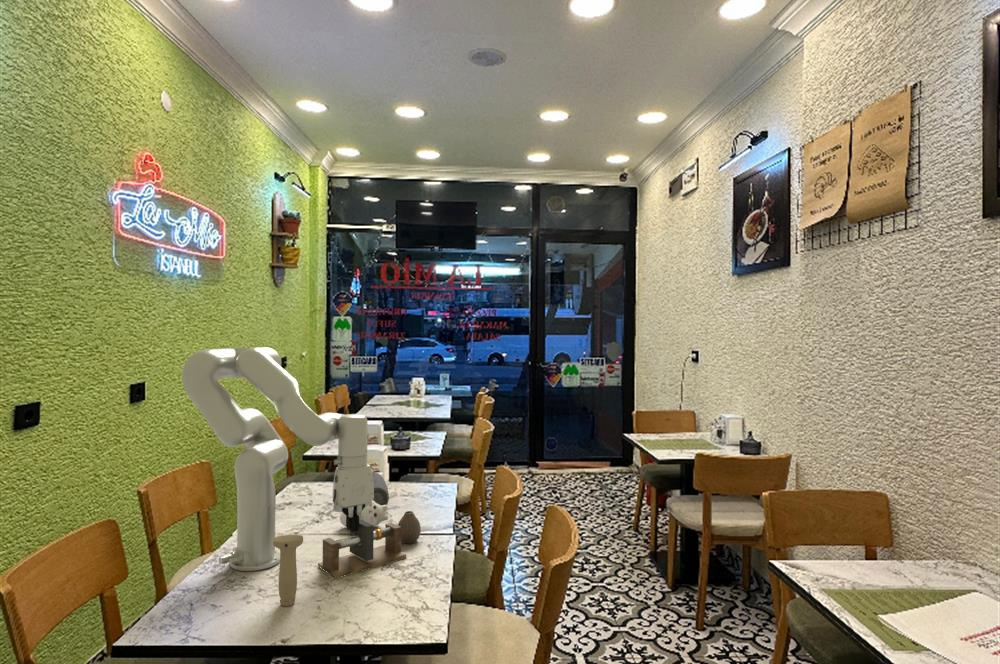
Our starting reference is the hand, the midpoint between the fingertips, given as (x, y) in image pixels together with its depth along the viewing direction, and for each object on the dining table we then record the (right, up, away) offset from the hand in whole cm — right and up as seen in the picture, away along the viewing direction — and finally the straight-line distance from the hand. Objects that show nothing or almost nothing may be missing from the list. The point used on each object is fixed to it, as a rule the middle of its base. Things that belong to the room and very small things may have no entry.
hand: (352, 530), depth 161 cm
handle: (-9, -10, -23) cm, 26 cm away
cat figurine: (-4, -10, +31) cm, 33 cm away
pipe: (+2, -4, +2) cm, 5 cm away
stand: (+2, -9, +2) cm, 10 cm away
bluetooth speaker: (-6, -10, +55) cm, 56 cm away
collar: (+2, -7, +2) cm, 8 cm away
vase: (+12, -10, +19) cm, 24 cm away
